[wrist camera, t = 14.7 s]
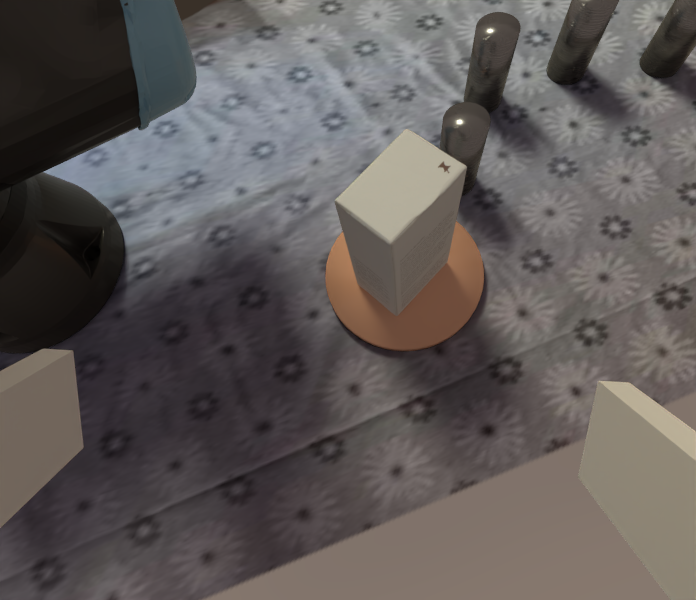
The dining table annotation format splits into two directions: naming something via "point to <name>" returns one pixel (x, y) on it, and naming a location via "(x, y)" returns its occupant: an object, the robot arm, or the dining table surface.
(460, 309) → the saucer
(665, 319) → the dining table surface
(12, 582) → the dining table surface
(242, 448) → the dining table surface
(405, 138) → the skincare box
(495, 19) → the set of grey cylinders
